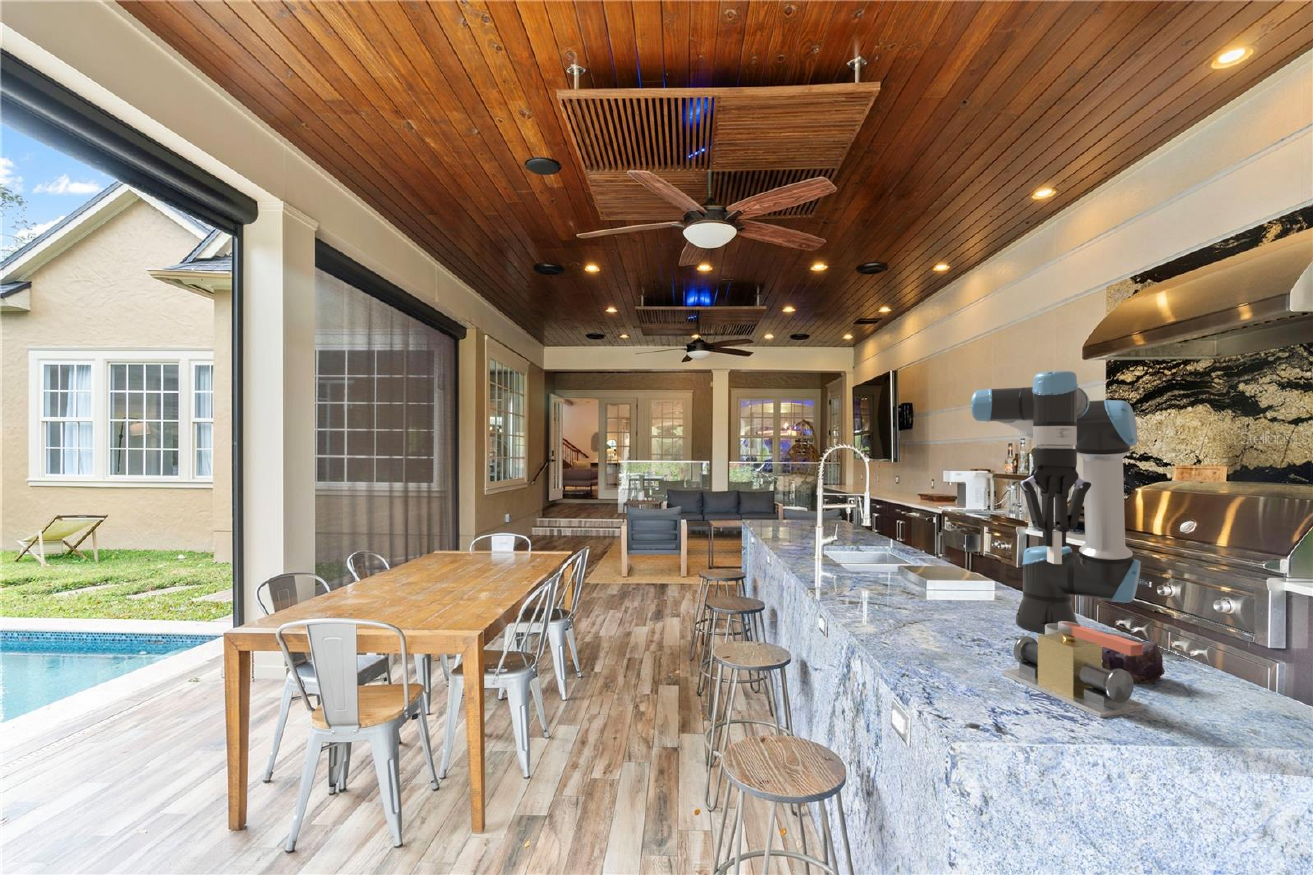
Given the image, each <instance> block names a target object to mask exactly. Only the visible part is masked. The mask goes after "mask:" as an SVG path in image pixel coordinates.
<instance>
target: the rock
mask: <svg viewBox="0 0 1313 875" xmlns="http://www.w3.org/2000/svg"><path fill="white" fill-rule="evenodd" d="M1138 643H1141V644H1143V655H1135V656H1129V655H1126V654H1123V653H1120V652H1118V651H1115V650H1112V649H1109V648H1106V647H1103V646H1102V668H1105V669H1107V670H1110V671H1112V670H1114V669H1117V668H1119V669H1122V670H1125V671H1127V672H1129V673H1130V674H1131V676H1132V678H1133V683H1134V684H1142V683H1143V684H1145V685H1146V684H1148V683H1153V682H1157V681H1160V680H1161V677H1162V675H1165V668H1164V665H1163V664H1164V660H1163V654H1162V653H1161V650H1160V649H1159V648H1160V647H1159V645H1158V643H1157V642H1156V641H1149V642H1146V641H1144V642H1140V641H1139V642H1138Z"/></svg>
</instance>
